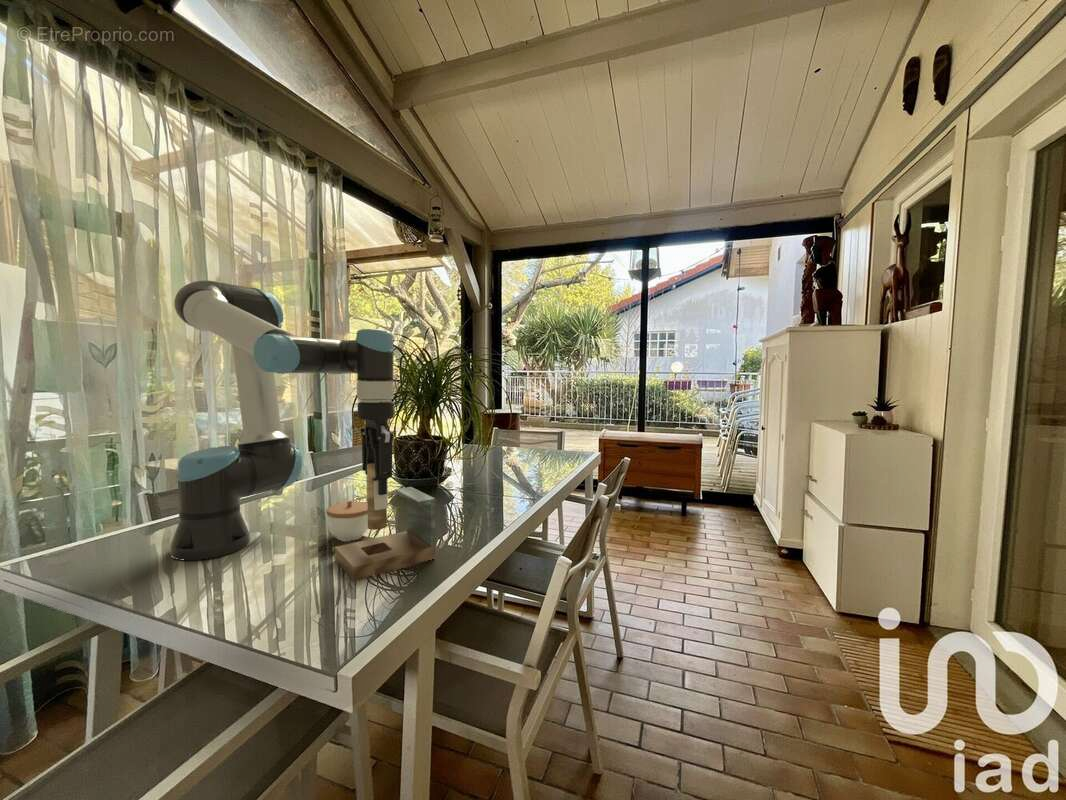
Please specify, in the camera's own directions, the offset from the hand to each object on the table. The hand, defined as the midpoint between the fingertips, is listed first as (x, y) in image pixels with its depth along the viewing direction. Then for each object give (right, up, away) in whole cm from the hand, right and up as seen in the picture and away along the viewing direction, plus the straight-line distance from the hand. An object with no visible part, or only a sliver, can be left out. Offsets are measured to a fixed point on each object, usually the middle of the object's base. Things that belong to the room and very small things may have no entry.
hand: (377, 506), depth 98 cm
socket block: (+1, -13, +2) cm, 13 cm away
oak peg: (0, -5, 0) cm, 5 cm away
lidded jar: (-13, -12, +16) cm, 23 cm away
